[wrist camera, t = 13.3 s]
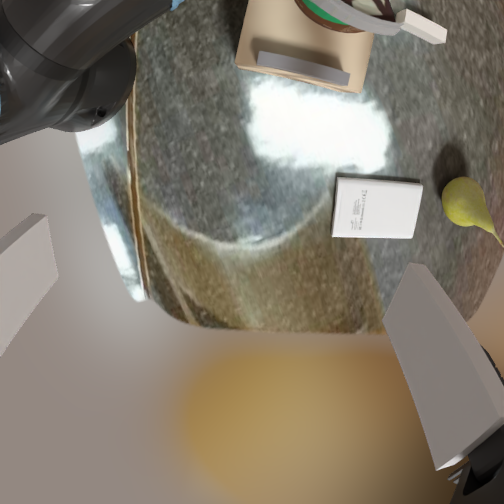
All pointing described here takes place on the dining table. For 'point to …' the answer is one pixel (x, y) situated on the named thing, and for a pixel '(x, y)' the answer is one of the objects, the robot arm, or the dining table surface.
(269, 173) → the dining table surface
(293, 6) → the wooden stand
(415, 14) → the pair of white blocks
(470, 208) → the fruit
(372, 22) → the food container
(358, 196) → the external hard drive
